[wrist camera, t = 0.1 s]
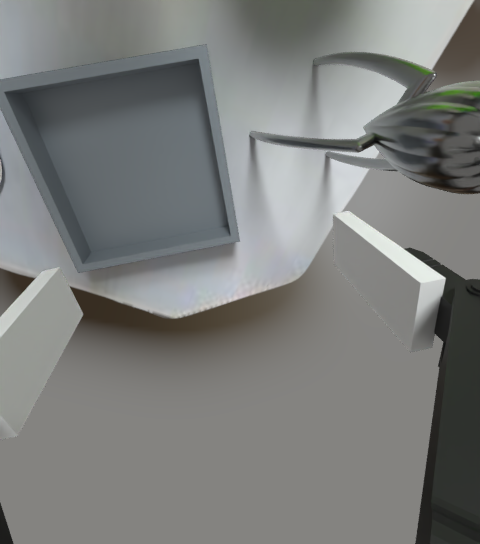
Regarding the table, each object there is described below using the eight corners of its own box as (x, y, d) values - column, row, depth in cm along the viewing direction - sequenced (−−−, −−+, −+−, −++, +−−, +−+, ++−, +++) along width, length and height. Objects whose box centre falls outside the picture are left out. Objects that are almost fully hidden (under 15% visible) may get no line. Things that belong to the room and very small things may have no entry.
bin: (12, 84, 33) (-13, 81, 29) (205, 51, 34) (206, 44, 30) (88, 257, 43) (78, 272, 39) (235, 229, 44) (239, 241, 40)
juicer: (318, 57, 36) (662, -77, 9) (330, 156, 41) (571, 246, 15) (237, 84, 36) (350, 26, 10) (260, 178, 41) (373, 307, 15)
